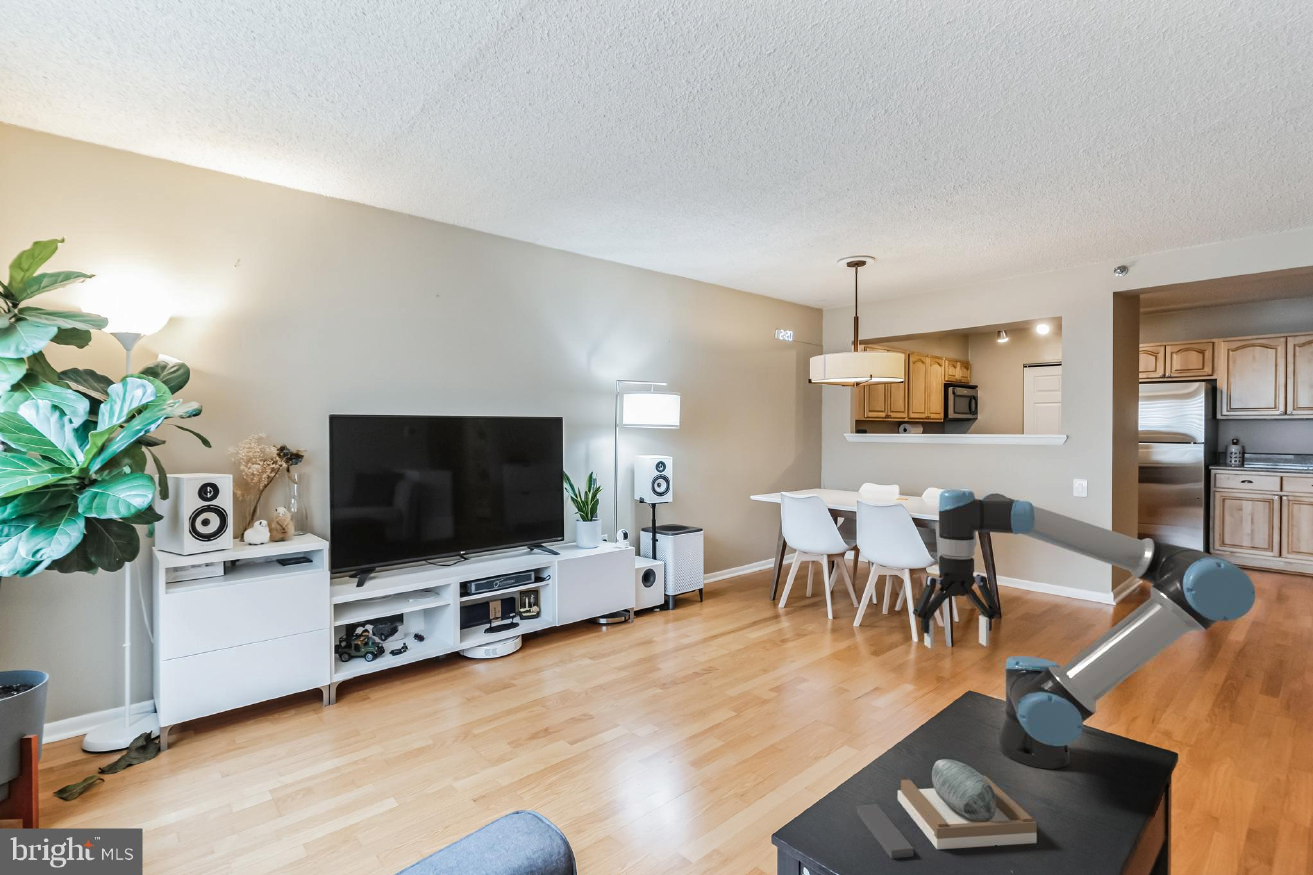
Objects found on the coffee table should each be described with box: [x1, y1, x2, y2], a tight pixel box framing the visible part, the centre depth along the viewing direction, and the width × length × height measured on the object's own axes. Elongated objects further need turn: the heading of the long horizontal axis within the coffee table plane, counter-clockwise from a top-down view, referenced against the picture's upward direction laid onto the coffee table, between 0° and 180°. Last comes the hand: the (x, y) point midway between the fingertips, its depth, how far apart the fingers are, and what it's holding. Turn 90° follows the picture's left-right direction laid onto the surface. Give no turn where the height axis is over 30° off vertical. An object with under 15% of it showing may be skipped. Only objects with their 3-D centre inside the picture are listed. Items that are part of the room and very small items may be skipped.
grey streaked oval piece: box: [931, 758, 996, 822], centre depth 128 cm, size 14×10×10 cm
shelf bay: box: [897, 775, 1038, 850], centre depth 127 cm, size 20×16×4 cm
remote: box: [856, 803, 914, 859], centre depth 123 cm, size 4×14×2 cm, turn 8°
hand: (956, 645), depth 147 cm, fingers open, 13 cm apart
